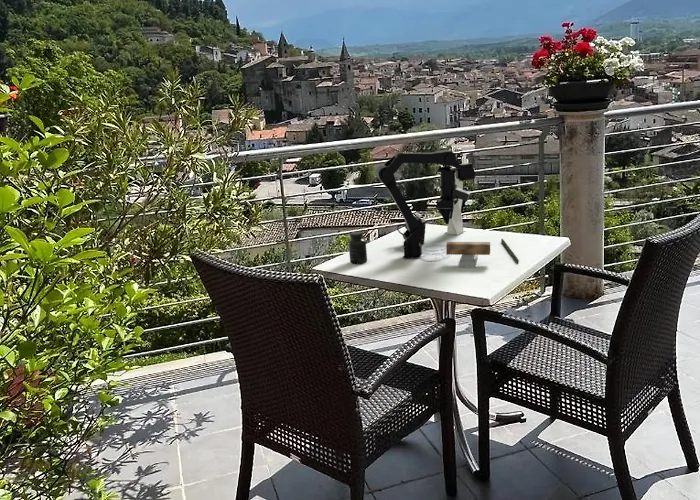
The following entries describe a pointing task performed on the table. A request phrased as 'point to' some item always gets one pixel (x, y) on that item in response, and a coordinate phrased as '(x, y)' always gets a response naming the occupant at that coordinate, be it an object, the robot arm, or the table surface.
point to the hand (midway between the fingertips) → (448, 221)
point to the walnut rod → (468, 248)
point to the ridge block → (468, 261)
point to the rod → (509, 251)
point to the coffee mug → (424, 228)
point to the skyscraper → (456, 215)
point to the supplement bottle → (357, 248)
